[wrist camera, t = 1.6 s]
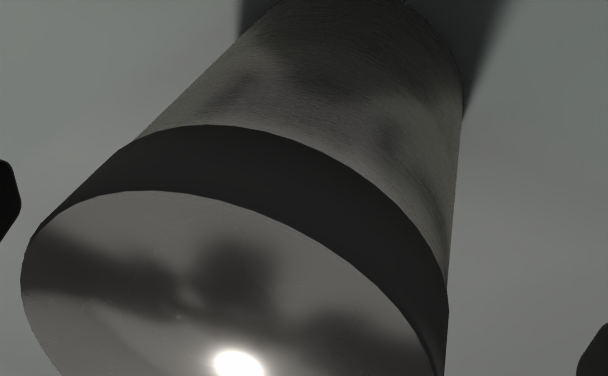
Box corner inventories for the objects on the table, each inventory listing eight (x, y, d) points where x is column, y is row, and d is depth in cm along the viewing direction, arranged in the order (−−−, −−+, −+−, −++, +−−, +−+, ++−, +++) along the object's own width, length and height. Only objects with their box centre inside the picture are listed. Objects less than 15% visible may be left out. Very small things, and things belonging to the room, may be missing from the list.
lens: (499, 10, 10) (511, 281, 4) (431, 222, 13) (388, 536, 7) (234, -39, 11) (-36, 136, 5) (230, 172, 14) (56, 422, 8)
